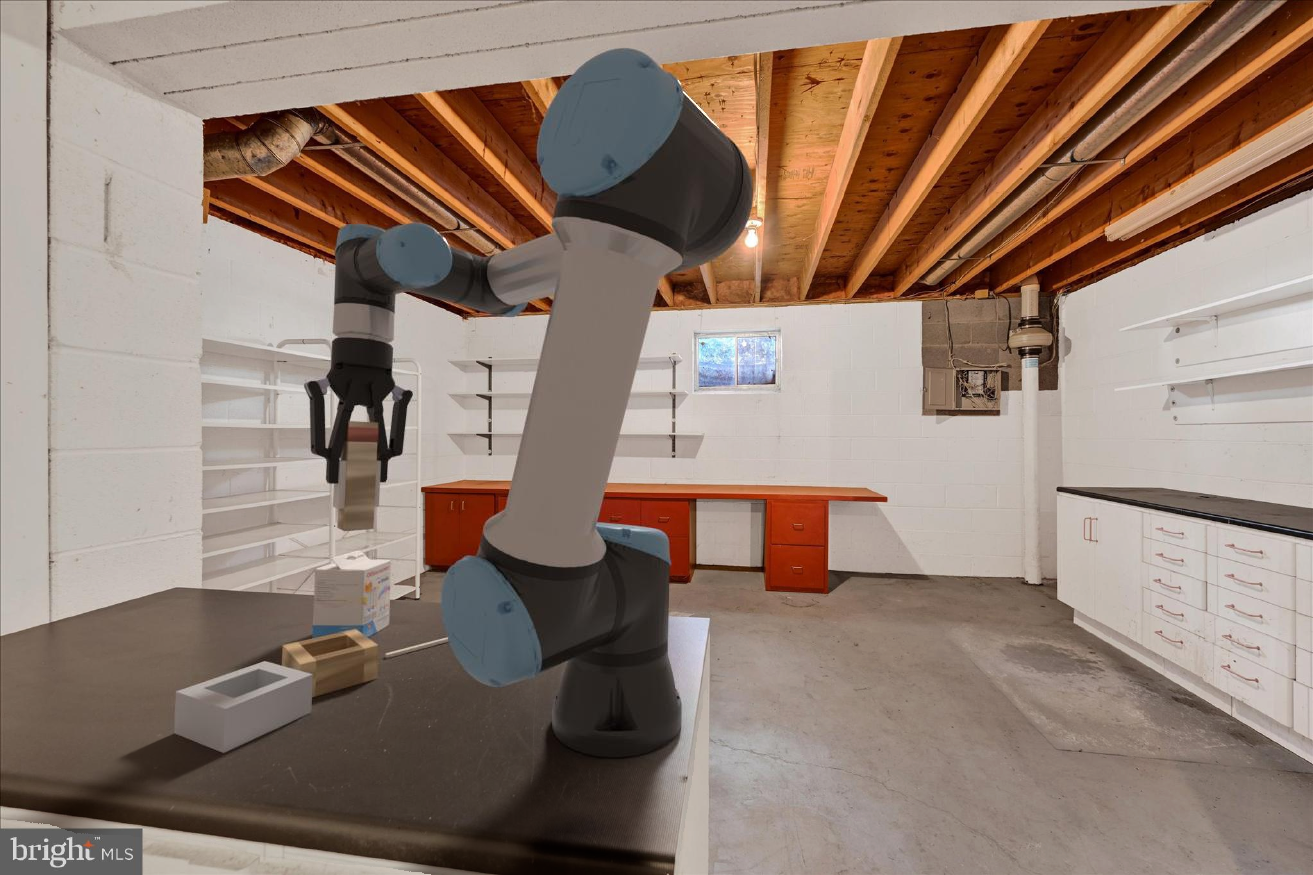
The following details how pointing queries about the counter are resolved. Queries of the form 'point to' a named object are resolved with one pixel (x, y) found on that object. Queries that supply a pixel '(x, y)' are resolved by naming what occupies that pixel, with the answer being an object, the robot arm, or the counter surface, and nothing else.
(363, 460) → the red-banded tall box
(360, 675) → the wooden square frame
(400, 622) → the counter surface
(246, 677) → the grey square frame
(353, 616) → the ink box
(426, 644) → the thin white stick
